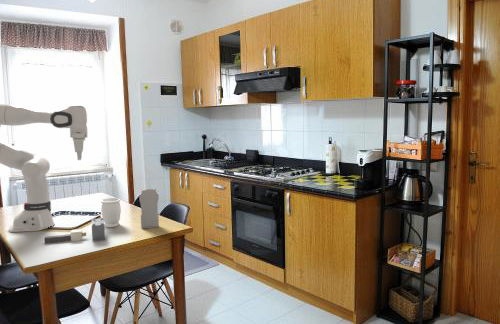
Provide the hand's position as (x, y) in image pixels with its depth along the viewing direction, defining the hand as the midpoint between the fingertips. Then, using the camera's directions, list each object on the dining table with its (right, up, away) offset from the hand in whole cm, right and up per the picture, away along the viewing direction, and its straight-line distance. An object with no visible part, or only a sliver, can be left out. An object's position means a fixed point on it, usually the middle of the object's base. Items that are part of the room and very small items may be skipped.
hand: (79, 159), depth 217 cm
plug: (+2, -41, -20) cm, 46 cm away
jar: (+16, -38, +6) cm, 42 cm away
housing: (+17, -41, -15) cm, 46 cm away
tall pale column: (+39, -39, +2) cm, 55 cm away
